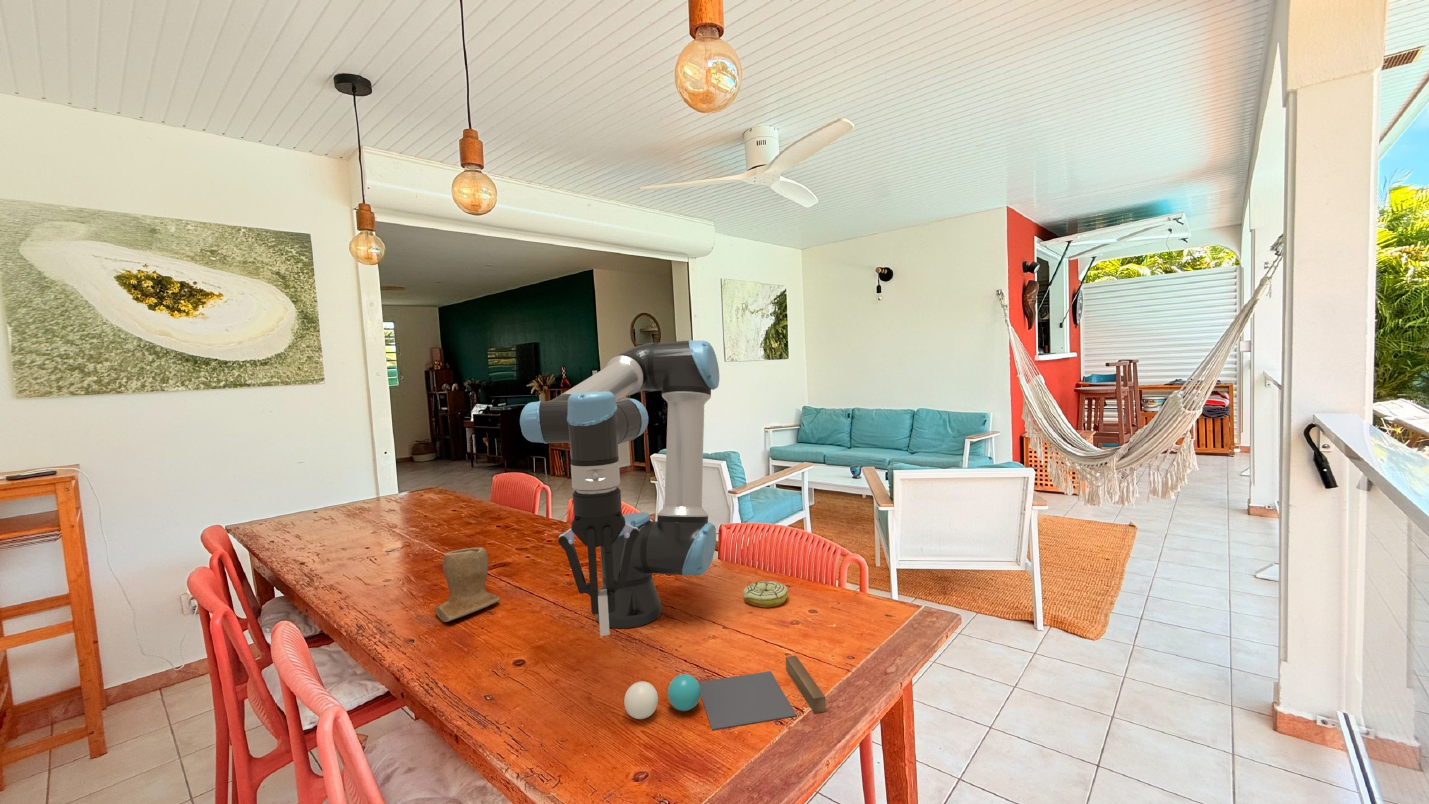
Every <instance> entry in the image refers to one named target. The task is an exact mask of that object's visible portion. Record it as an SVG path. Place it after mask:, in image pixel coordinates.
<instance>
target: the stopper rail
mask: <svg viewBox="0 0 1429 804" xmlns="http://www.w3.org/2000/svg"><path fill="white" fill-rule="evenodd" d="M785 671H786V672H787V674H788V675H789V676H790V678H791V679H792V681H793V683H794V684H795V686H796V687H797V689H798V690H799V692H800V694H801V695H802V697H803V698H804V700H805V702H806V703H807V704H808V706H809V708H810V710H811V711H812V712H813V714H818V713H820V714H821V713H824V712H826V711H827V710H826V709H827V708H826V706H827V704H826V695H825V694H824V693H823V690H821V688H820V687H819V686H818V685H817V683H816V682H815V680H814V679H813V677H812V675H810V673H809V671H808V670H807V669H806V668H805V666H804V664H803V663H802V662H801V660H800V659H799V657H798V656H797V655H795V654H794V655H789V656H785Z"/></svg>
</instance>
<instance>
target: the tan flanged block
mask: <svg viewBox="0 0 1429 804" xmlns="http://www.w3.org/2000/svg"><path fill="white" fill-rule="evenodd" d="M487 552H488V551H487V549H486V548H484V547H469V548H461V549H455V550H452V551H448V552H446V553H445V554H444V556H443V557H442V559H443V560H442V571H443V574H444V577H445V580H446V583H447V587H448V590H449V597H448V599H447V601H445V602H443V603H442V604H440V605H437V607H435V608H434V612H435V613H436V615H437V616H438V618H439V620H441V622H444V623H447V622H451V621H454V620H456V619H457V620H458V619H459V618H462V617H465V616H467V615H470V614H473V613H476V612H477V611H480V610H482V609H485V608H487V607H490V606H491V605H493V604H496V603H497V602H499V601H500V599H501V597H500V596H499V595H497V594H494V593H491V592H488V591H487V590H486V582H487V577H488V573H489V571H488V570H489V558H488V553H487Z"/></svg>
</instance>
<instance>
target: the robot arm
mask: <svg viewBox="0 0 1429 804" xmlns="http://www.w3.org/2000/svg"><path fill="white" fill-rule="evenodd" d="M719 385H720V368H719V362H718V358H717V355H716V352H715V350H714V347H713V345H711V343H710V342H709V341H707V340H693V339H689V340H678V341H661V342H647V343H642V344H640V345H637V346H635V347H632V348H630V349H627V350H625V351H623V352H622V353H619V354H617V355H616V356H614V357H612V358H611V359H610V360H608V362H607V363H606V365H605V368H602V369H601V370H600V371H598V372H596V373H595V374H594V373H593V375H591V376H590V377H588V378H586V379H584V380H583V381H581V382H579V383H578V384H576V385H574V386H573V387H572V388H570V389H568V390H566V391H565V392H563V393H561V394H559V395H558V396H557V397H555V398H553V399H551V400H547V401H545V400H544V401H543V400H538V401H532V402H531V401H530V402H528V403H527V404H525V406H523V409H522V410H521V412H520V417H519V425H520V429H521V433H522V436H523V437H524V439H526V440H527V441H528V442H531V443H539V444H540V443H542V444H565V443H567V444H569V451H570V452H569V453H570V474H571V476H570V477H571V488H572V489H573V490H574V491H573V493H572V504H573V505H572V506H573V507H572V508H573V520H572V521H571V527H570V528H569V529H568V530H566V531H565V532H560V533H559V536H558V540H557V541H558V544H559V545H560V546H561V548H562V549H563V550H564V551H565V554H566V557H567V560H568V563H569V567H570V569H571V573H572V574H573V579H574V581H575V585H576V587H577V591H578V593H579V594H582V595H583V594H587V595H588V596H589V597H590V608H591V611H590V613H592V615H595V618H596V621H597V622H598V623H599V636H600V637H604V636H610V634H611V633H610V628H612V629H613V628H614V629H631V628H636V627H640V626H644V625H647V624H649V623H652V622H654V621H655V620H657V619H658V618H659V617H660V616H661V614H662V602H661V599H660V597H659V594H658V591H657V588H656V585H655V583H654V580H653V579H654V578H653V575H654V574H656V575H673V576H675V575H676V576H683V577H687V576H689V577H690V576H694V577H696V576H697V577H699V576H702V575H704V574H706V573H707V572H708V570H709V568H710V567H711V563H712V560H713V559H714V554H715V551H716V550H715V549H716V545H717V544H716V543H717V533H716V531H717V528H716V526H715V525H714V523H712V522H709V513H707V512H706V510H705V509H704V507H703V506H702V505H703V500H702V499H703V476H704V475H703V466H704V464H703V463H704V428H705V426H704V425H705V405H706V403H707V402H708V401H710V400H711V398H712V390H713V391H714V390H716V389H718V388H719ZM645 391H661V397H662V398H663V400H664V401H666V403H667V426H666V453H665V478H664V479H665V480H664V481H665V483H664V484H665V486H664V506H663V508H661V510H660V511H659V512H658V513H657V521H655V520H652V521H651V518H652V517H651V516H650V514H649V513H648V512H633V513H626V514H622V513H623V511H622V495H621V494H622V493H621V492H622V491H621V489H620V488H619V487H618V486H619V485H620V484H621V476H620V475H621V474H620V459H619V457H620V456H619V445H621V444H624V443H626V442H632V441H634V440H635V439H636V438H638V437H639V436H642V434H644V432H645V431H646V430H647V427H648V424H649V415H648V414H649V413H648V411H647V409H646V407H645V405H644V404H643V403H642V402H640V401H639V400H637V399H635V398H630V397H629V398H628V397H626V398H624V397H625V396H632V395H634V394H636V393H637V392H645ZM575 536H576V537H577V539H579V541H580V542H581V543H582V544H583V545H584V546H585V547H587V560H588V574H589V575H588V576H589V577H588V578H589V579H588V580H589V582H587V581H586V578H585V575H584V572H583V569H582V565H581V562H580V559H579V556H578V554H577V550H576V547H575ZM598 547H599V548H600V561H601V563H600V567H601V579H602V580H601V581H602V582H601V583H602V584H601V589H599V585H598V583H599V582H598V581H599V580H598V566H597V565H598V564H597V549H596V548H598Z"/></svg>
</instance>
